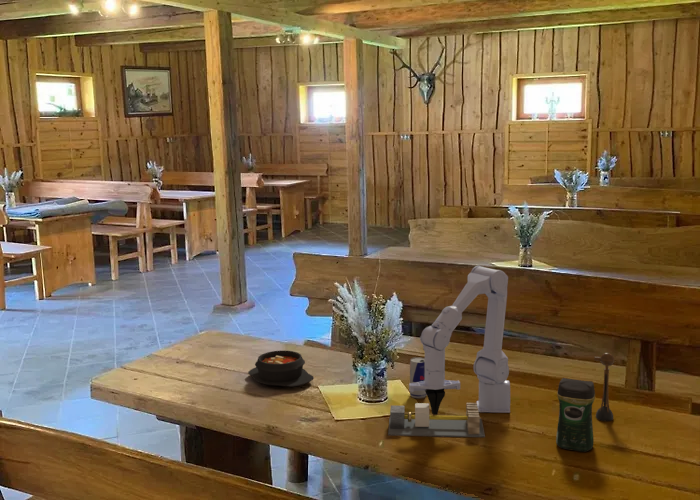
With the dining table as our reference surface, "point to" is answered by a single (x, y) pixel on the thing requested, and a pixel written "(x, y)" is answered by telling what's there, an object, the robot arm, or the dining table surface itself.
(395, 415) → the block
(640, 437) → the dining table surface
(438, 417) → the yellow rod
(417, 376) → the energy drink
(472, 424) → the cable comb
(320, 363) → the dining table surface
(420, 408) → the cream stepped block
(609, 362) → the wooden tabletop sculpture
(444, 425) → the cable mat
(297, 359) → the casserole
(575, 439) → the coffee jar
